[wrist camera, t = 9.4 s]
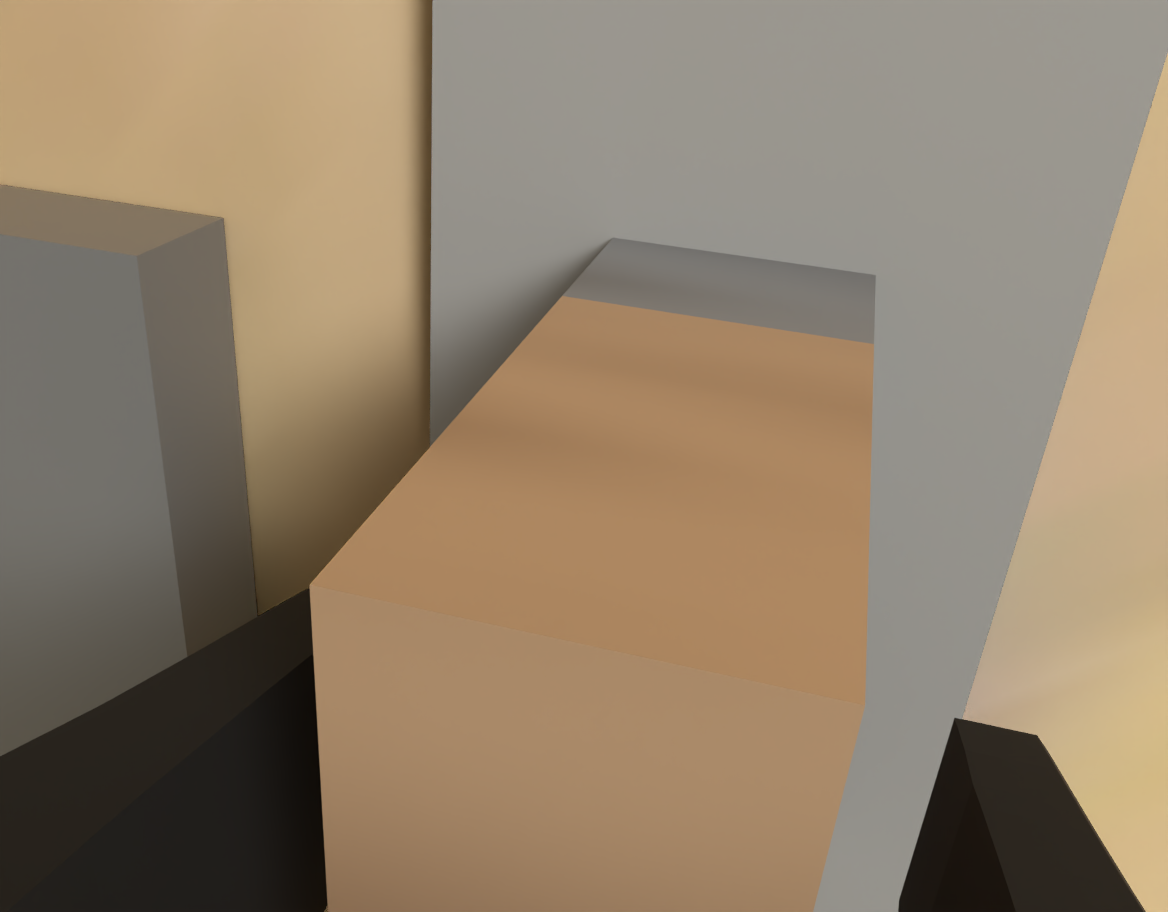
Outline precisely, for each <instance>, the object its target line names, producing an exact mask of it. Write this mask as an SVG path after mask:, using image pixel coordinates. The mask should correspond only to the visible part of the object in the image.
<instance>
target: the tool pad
mask: <svg viewBox="0 0 1168 912" xmlns="http://www.w3.org/2000/svg"><path fill="white" fill-rule="evenodd" d="M1167 53H1168V0H433V4H432V168H431V333H430V446H431V445H432V444H433V443H434V442H435V441H436V440H437V438H438V437H439V436H440V435H441V434H442V433H443V432H444V430H445V429H446V428H447V427H448V426H449V425H450V424H451V422H452V421H453V420H454V419H455V418H456V417H457V416H458V414H459V413H460V412H461V411H462V410H463V409H464V408H465V406H466V405H467V404H468V403H469V402H470V401H471V400H472V398H473V397H474V396H475V395H476V394H477V393H478V392H479V390H480V389H481V388H482V387H483V386H484V385H485V384H486V382H487V381H488V380H489V379H490V378H491V377H492V376H493V374H494V373H495V372H496V371H497V370H498V369H499V368H500V366H501V365H502V364H503V363H504V362H505V361H506V360H507V358H508V357H509V356H510V355H511V354H512V353H513V352H514V350H515V349H516V348H517V347H518V346H519V345H520V344H521V342H522V341H523V340H524V339H525V338H526V337H527V336H528V334H529V333H530V332H531V331H532V330H533V329H534V328H535V326H536V325H537V324H538V323H539V322H540V321H541V320H542V318H543V317H544V316H545V315H546V314H547V313H548V312H549V310H550V309H551V308H552V307H553V306H554V305H555V304H556V302H557V301H558V300H559V299H560V298H561V297H562V296H563V294H564V293H565V292H566V291H567V290H568V289H569V288H570V286H571V285H572V284H573V283H574V282H575V281H576V280H577V278H578V277H579V276H580V275H581V274H582V273H583V272H584V270H585V269H586V268H587V267H588V266H589V265H590V264H591V262H592V261H593V260H594V259H595V258H596V257H597V256H598V254H599V253H600V252H601V251H602V250H603V249H604V248H605V246H606V245H607V244H608V243H609V242H610V241H611V240H612V238H619V239H626V240H634V241H641V242H648V243H655V244H662V245H669V246H676V247H683V248H690V249H697V250H704V251H711V252H718V253H725V254H732V255H739V256H746V257H753V258H760V259H767V260H774V261H781V262H788V263H795V264H802V265H809V266H816V267H823V268H830V269H837V270H844V271H851V272H858V273H865V274H872V275H876V286H875V327H874V367H873V408H872V448H871V489H870V529H869V570H868V611H867V651H866V692H865V708H864V712H863V716H862V720H861V724H860V728H859V732H858V736H857V740H856V744H855V748H854V752H853V756H852V760H851V764H850V768H849V772H848V776H847V779H846V783H845V787H844V791H843V795H842V799H841V803H840V807H839V811H838V815H837V819H836V823H835V827H834V831H833V835H832V839H831V843H830V847H829V851H828V855H827V859H826V863H825V867H824V871H823V875H822V879H821V883H820V887H819V891H818V895H817V898H816V902H815V906H814V910H813V912H898V908H899V898H900V895H901V892H902V889H903V885H904V882H905V879H906V875H907V872H908V869H909V866H910V862H911V859H912V856H913V852H914V849H915V846H916V843H917V839H918V836H919V833H920V829H921V826H922V823H923V820H924V816H925V813H926V810H927V806H928V803H929V800H930V797H931V793H932V790H933V787H934V783H935V780H936V777H937V774H938V770H939V767H940V764H941V760H942V757H943V754H944V751H945V747H946V744H947V741H948V737H949V734H950V731H951V728H952V724H953V721H954V718H959V719H962V717H963V714H964V710H965V707H966V704H967V701H968V697H969V694H970V691H971V688H972V684H973V681H974V678H975V675H976V671H977V668H978V665H979V662H980V658H981V655H982V652H983V649H984V646H985V642H986V639H987V636H988V633H989V629H990V626H991V623H992V620H993V616H994V613H995V610H996V607H997V603H998V600H999V597H1000V594H1001V590H1002V587H1003V584H1004V581H1005V577H1006V574H1007V571H1008V568H1009V565H1010V561H1011V558H1012V555H1013V552H1014V548H1015V545H1016V542H1017V539H1018V535H1019V532H1020V529H1021V526H1022V522H1023V519H1024V516H1025V513H1026V509H1027V506H1028V503H1029V500H1030V497H1031V493H1032V490H1033V487H1034V484H1035V480H1036V477H1037V474H1038V471H1039V467H1040V464H1041V461H1042V458H1043V454H1044V451H1045V448H1046V445H1047V441H1048V438H1049V435H1050V432H1051V428H1052V425H1053V422H1054V419H1055V416H1056V412H1057V409H1058V406H1059V403H1060V399H1061V396H1062V393H1063V390H1064V386H1065V383H1066V380H1067V377H1068V373H1069V370H1070V367H1071V364H1072V360H1073V357H1074V354H1075V351H1076V348H1077V344H1078V341H1079V338H1080V335H1081V331H1082V328H1083V325H1084V322H1085V318H1086V315H1087V312H1088V309H1089V305H1090V302H1091V299H1092V296H1093V292H1094V289H1095V286H1096V283H1097V279H1098V276H1099V273H1100V270H1101V267H1102V263H1103V260H1104V257H1105V254H1106V250H1107V247H1108V244H1109V241H1110V237H1111V234H1112V231H1113V228H1114V224H1115V221H1116V218H1117V215H1118V211H1119V208H1120V205H1121V202H1122V199H1123V195H1124V192H1125V189H1126V186H1127V182H1128V179H1129V176H1130V173H1131V169H1132V166H1133V163H1134V160H1135V156H1136V153H1137V150H1138V147H1139V143H1140V140H1141V137H1142V134H1143V131H1144V127H1145V124H1146V121H1147V118H1148V114H1149V111H1150V108H1151V105H1152V101H1153V98H1154V95H1155V92H1156V88H1157V85H1158V82H1159V79H1160V75H1161V72H1162V69H1163V66H1164V62H1165V59H1166V56H1167Z"/></svg>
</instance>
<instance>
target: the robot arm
mask: <svg viewBox="0 0 1168 912" xmlns="http://www.w3.org/2000/svg"><path fill="white" fill-rule="evenodd" d="M327 906H328V903H327V885H326V868H325V850H324V832H323V815H322V797H321V779H320V762H319V744H318V727H317V709H316V691H315V674H314V656H313V639H312V621H311V603H310V588H308V589H307V590H305V591H303V592H301V593H299V594H297V595H295V596H293V597H292V598H290V599H288V600H286V601H284V602H283V603H281V604H279V605H277V606H275V607H274V608H272V609H270V610H268V611H267V612H265V613H263V614H261V615H260V616H258V617H256V618H254V619H253V620H251V621H249V622H247V623H246V624H244V625H242V626H240V627H239V628H237V629H235V630H233V631H232V632H230V633H228V634H226V635H225V636H223V637H221V638H220V639H218V640H216V641H214V642H213V643H211V644H209V645H207V646H206V647H204V648H202V649H200V650H199V651H197V652H195V653H193V654H191V655H190V656H188V657H186V658H184V659H183V660H181V661H179V662H177V663H175V664H174V665H172V666H170V667H168V668H166V669H165V670H163V671H161V672H159V673H157V674H156V675H154V676H152V677H150V678H148V679H147V680H145V681H143V682H141V683H140V684H138V685H136V686H134V687H132V688H131V689H129V690H127V691H125V692H123V693H122V694H120V695H118V696H116V697H114V698H113V699H111V700H109V701H107V702H105V703H104V704H102V705H100V706H98V707H96V708H94V709H92V710H90V711H88V712H86V713H84V714H82V715H80V716H78V717H76V718H74V719H72V720H71V721H69V722H67V723H65V724H63V725H61V726H59V727H57V728H55V729H53V730H51V731H49V732H47V733H45V734H43V735H41V736H39V737H37V738H35V739H33V740H31V741H29V742H27V743H25V744H23V745H21V746H19V747H17V748H16V749H14V750H12V751H10V752H8V753H6V754H4V755H2V756H0V912H324V911H325V909H326V907H327ZM898 912H1145V910H1144V908H1143V907H1142V905H1141V904H1140V902H1139V901H1138V899H1137V897H1136V896H1135V894H1134V893H1133V891H1132V890H1131V888H1130V886H1129V885H1128V883H1127V881H1126V880H1125V878H1124V877H1123V875H1122V873H1121V872H1120V870H1119V868H1118V867H1117V865H1116V864H1115V862H1114V860H1113V859H1112V857H1111V856H1110V854H1109V852H1108V851H1107V849H1106V847H1105V846H1104V844H1103V843H1102V841H1101V839H1100V838H1099V836H1098V834H1097V833H1096V831H1095V829H1094V828H1093V826H1092V824H1091V823H1090V821H1089V819H1088V818H1087V816H1086V814H1085V813H1084V811H1083V809H1082V808H1081V806H1080V804H1079V803H1078V801H1077V799H1076V798H1075V796H1074V794H1073V793H1072V791H1071V789H1070V788H1069V786H1068V784H1067V783H1066V781H1065V779H1064V777H1063V776H1062V774H1061V772H1060V771H1059V769H1058V767H1057V766H1056V764H1055V762H1054V761H1053V759H1052V757H1051V756H1050V754H1049V752H1048V751H1047V749H1046V748H1045V746H1044V745H1043V744H1042V742H1041V741H1040V739H1039V738H1038V736H1037V735H1033V734H1028V733H1023V732H1019V731H1014V730H1010V729H1005V728H1000V727H996V726H991V725H986V724H982V723H977V722H972V721H968V720H963V719H959V718H954V721H953V724H952V728H951V731H950V734H949V737H948V741H947V744H946V747H945V751H944V754H943V757H942V760H941V764H940V767H939V770H938V774H937V777H936V780H935V783H934V787H933V790H932V793H931V797H930V800H929V803H928V806H927V810H926V813H925V816H924V820H923V823H922V826H921V829H920V833H919V836H918V839H917V843H916V846H915V849H914V852H913V856H912V859H911V862H910V866H909V869H908V872H907V875H906V879H905V882H904V885H903V889H902V892H901V895H900V898H899V908H898Z"/></svg>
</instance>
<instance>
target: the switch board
mask: <svg viewBox="0 0 1168 912" xmlns="http://www.w3.org/2000/svg"><path fill="white" fill-rule="evenodd" d="M256 617H258V616H257V604H256V592H255V581H254V569H253V557H252V546H251V534H250V522H249V511H248V499H247V487H246V476H245V464H244V452H243V441H242V429H241V417H240V406H239V394H238V382H237V371H236V359H235V347H234V336H233V324H232V312H231V301H230V289H229V277H228V266H227V254H226V242H225V231H224V219H223V218H220V217H214V216H207V215H200V214H194V213H187V212H180V211H174V210H167V209H160V208H153V207H147V206H140V205H133V204H127V203H120V202H113V201H107V200H100V199H93V198H86V197H80V196H73V195H66V194H60V193H53V192H46V191H40V190H33V189H26V188H19V187H13V186H6V185H0V756H2V755H4V754H6V753H8V752H10V751H12V750H14V749H16V748H17V747H19V746H21V745H23V744H25V743H27V742H29V741H31V740H33V739H35V738H37V737H39V736H41V735H43V734H45V733H47V732H49V731H51V730H53V729H55V728H57V727H59V726H61V725H63V724H65V723H67V722H69V721H71V720H72V719H74V718H76V717H78V716H80V715H82V714H84V713H86V712H88V711H90V710H92V709H94V708H96V707H98V706H100V705H102V704H104V703H105V702H107V701H109V700H111V699H113V698H114V697H116V696H118V695H120V694H122V693H123V692H125V691H127V690H129V689H131V688H132V687H134V686H136V685H138V684H140V683H141V682H143V681H145V680H147V679H148V678H150V677H152V676H154V675H156V674H157V673H159V672H161V671H163V670H165V669H166V668H168V667H170V666H172V665H174V664H175V663H177V662H179V661H181V660H183V659H184V658H186V657H188V656H190V655H191V654H193V653H195V652H197V651H199V650H200V649H202V648H204V647H206V646H207V645H209V644H211V643H213V642H214V641H216V640H218V639H220V638H221V637H223V636H225V635H226V634H228V633H230V632H232V631H233V630H235V629H237V628H239V627H240V626H242V625H244V624H246V623H247V622H249V621H251V620H253V619H254V618H256Z"/></svg>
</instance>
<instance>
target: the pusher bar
mask: <svg viewBox="0 0 1168 912" xmlns="http://www.w3.org/2000/svg"><path fill="white" fill-rule="evenodd" d="M875 286H876V275H872V274H865V273H858V272H851V271H844V270H837V269H830V268H823V267H816V266H809V265H802V264H795V263H788V262H781V261H774V260H767V259H760V258H753V257H746V256H739V255H732V254H725V253H718V252H711V251H704V250H697V249H690V248H683V247H676V246H669V245H662V244H655V243H648V242H641V241H634V240H626V239H619V238H612V240H611V241H610V242H609V243H608V244H607V245H606V246H605V248H604V249H603V250H602V251H601V252H600V253H599V254H598V256H597V257H596V258H595V259H594V260H593V261H592V262H591V264H590V265H589V266H588V267H587V268H586V269H585V270H584V272H583V273H582V274H581V275H580V276H579V277H578V278H577V280H576V281H575V282H574V283H573V284H572V285H571V286H570V288H569V289H568V290H567V291H566V292H565V293H564V294H563V296H562V297H561V298H560V299H559V300H558V301H557V302H556V304H555V305H554V306H553V307H552V308H551V309H550V310H549V312H548V313H547V314H546V315H545V316H544V317H543V318H542V320H541V321H540V322H539V323H538V324H537V325H536V326H535V328H534V329H533V330H532V331H531V332H530V333H529V334H528V336H527V337H526V338H525V339H524V340H523V341H522V342H521V344H520V345H519V346H518V347H517V348H516V349H515V350H514V352H513V353H512V354H511V355H510V356H509V357H508V358H507V360H506V361H505V362H504V363H503V364H502V365H501V366H500V368H499V369H498V370H497V371H496V372H495V373H494V374H493V376H492V377H491V378H490V379H489V380H488V381H487V382H486V384H485V385H484V386H483V387H482V388H481V389H480V390H479V392H478V393H477V394H476V395H475V396H474V397H473V398H472V400H471V401H470V402H469V403H468V404H467V405H466V406H465V408H464V409H463V410H462V411H461V412H460V413H459V414H458V416H457V417H456V418H455V419H454V420H453V421H452V422H451V424H450V425H449V426H448V427H447V428H446V429H445V430H444V432H443V433H442V434H441V435H440V436H439V437H438V438H437V440H436V441H435V442H434V443H433V444H432V445H431V446H430V448H429V449H428V450H427V451H426V452H425V453H424V454H423V456H422V457H421V458H420V459H419V460H418V461H417V462H416V464H415V465H414V466H413V467H412V468H411V469H410V470H409V472H408V473H407V474H406V475H405V476H404V477H403V478H402V480H401V481H400V482H399V483H398V484H397V485H396V486H395V488H394V489H393V490H392V491H391V492H390V493H389V494H388V496H387V497H386V498H385V499H384V500H383V501H382V502H381V504H380V505H379V506H378V507H377V508H376V509H375V510H374V512H373V513H372V514H371V515H370V516H369V517H368V518H367V520H366V521H365V522H364V523H363V524H362V525H361V526H360V528H359V529H358V530H357V531H356V532H355V533H354V534H353V536H352V537H351V538H350V539H349V540H348V541H347V542H346V544H345V545H344V546H343V547H342V548H341V549H340V550H339V552H338V553H337V554H336V555H335V556H334V557H333V558H332V560H331V561H330V562H329V563H328V564H327V565H326V566H325V568H324V569H323V570H322V571H321V572H320V573H319V574H318V576H317V577H316V578H315V579H314V580H313V581H312V582H311V584H310V585H309V586H310V603H311V621H312V639H313V656H314V674H315V691H316V709H317V727H318V744H319V762H320V779H321V797H322V815H323V832H324V850H325V868H326V885H327V903H328V912H813V910H814V906H815V902H816V898H817V895H818V891H819V887H820V883H821V879H822V875H823V871H824V867H825V863H826V859H827V855H828V851H829V847H830V843H831V839H832V835H833V831H834V827H835V823H836V819H837V815H838V811H839V807H840V803H841V799H842V795H843V791H844V787H845V783H846V779H847V776H848V772H849V768H850V764H851V760H852V756H853V752H854V748H855V744H856V740H857V736H858V732H859V728H860V724H861V720H862V716H863V712H864V708H865V692H866V651H867V611H868V570H869V529H870V489H871V448H872V408H873V367H874V327H875Z"/></svg>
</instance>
